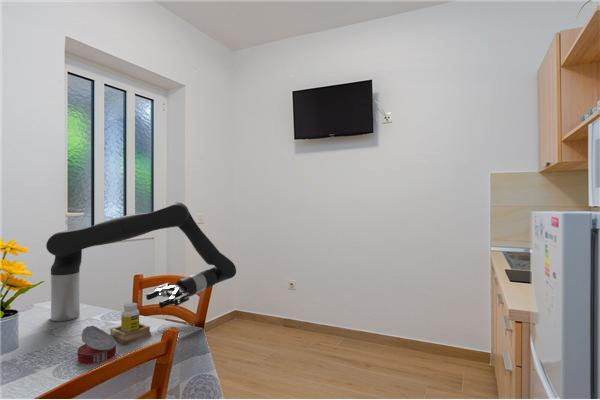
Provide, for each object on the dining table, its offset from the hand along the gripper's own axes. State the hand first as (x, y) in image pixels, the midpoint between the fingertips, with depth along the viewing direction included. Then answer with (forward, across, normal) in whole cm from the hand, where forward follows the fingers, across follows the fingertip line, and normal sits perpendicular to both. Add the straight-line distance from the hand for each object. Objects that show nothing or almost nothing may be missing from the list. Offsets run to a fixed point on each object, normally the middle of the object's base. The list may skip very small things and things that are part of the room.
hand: (153, 301), depth 126 cm
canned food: (+23, +9, +5) cm, 25 cm away
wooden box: (+10, +3, +8) cm, 13 cm away
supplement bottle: (+10, +3, +7) cm, 13 cm away
